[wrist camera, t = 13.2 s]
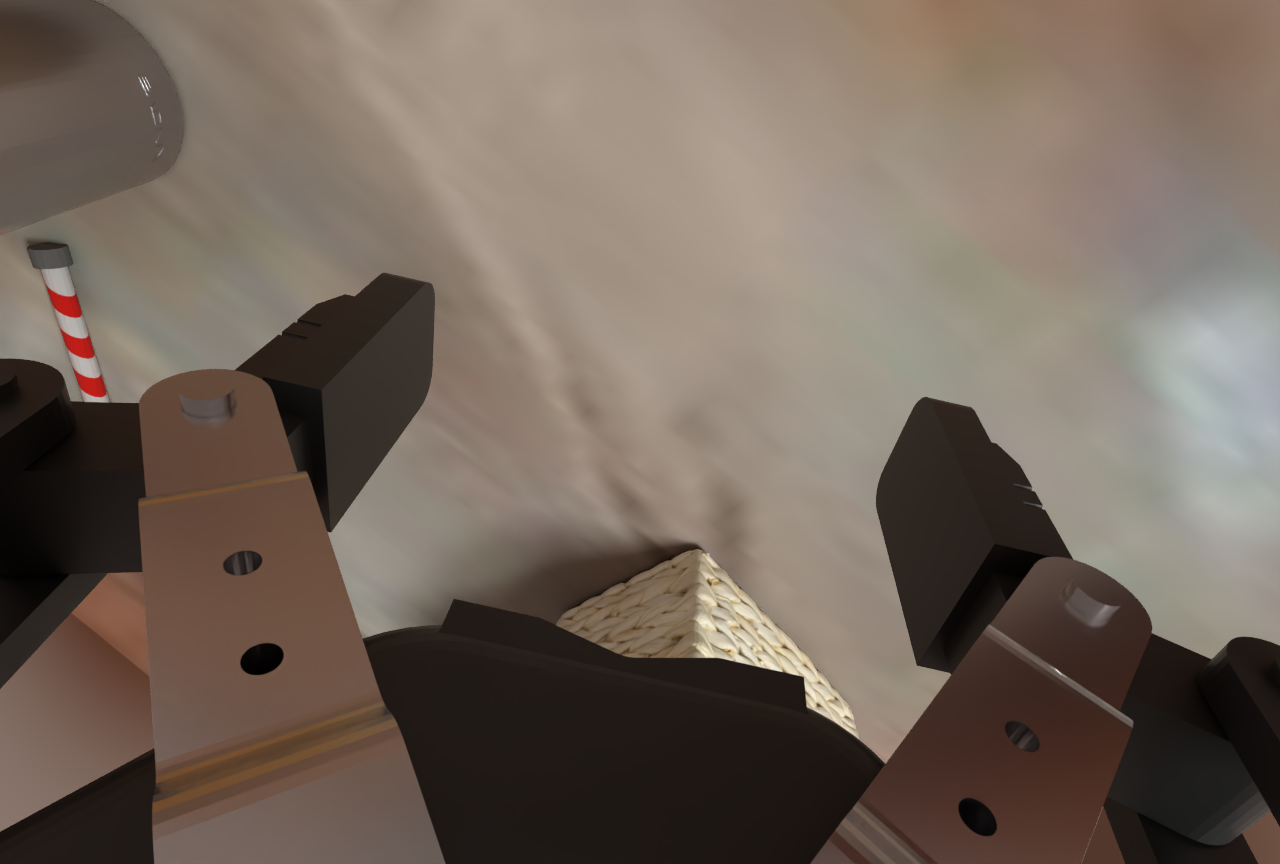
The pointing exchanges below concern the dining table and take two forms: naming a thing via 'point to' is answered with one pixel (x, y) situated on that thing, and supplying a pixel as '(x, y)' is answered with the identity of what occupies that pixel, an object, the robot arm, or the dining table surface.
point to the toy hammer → (69, 317)
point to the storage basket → (698, 626)
